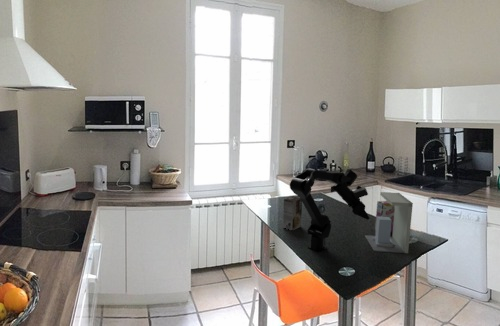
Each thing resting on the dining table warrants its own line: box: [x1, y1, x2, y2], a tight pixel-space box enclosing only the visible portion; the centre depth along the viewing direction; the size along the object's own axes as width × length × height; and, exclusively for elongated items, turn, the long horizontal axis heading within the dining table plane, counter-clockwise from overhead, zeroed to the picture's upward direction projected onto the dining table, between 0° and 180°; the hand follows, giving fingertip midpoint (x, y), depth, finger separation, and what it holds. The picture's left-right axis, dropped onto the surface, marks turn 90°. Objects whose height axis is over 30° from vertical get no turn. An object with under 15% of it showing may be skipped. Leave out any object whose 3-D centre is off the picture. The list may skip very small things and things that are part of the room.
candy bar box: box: [374, 200, 395, 233], centre depth 196 cm, size 11×5×16 cm, turn 108°
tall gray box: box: [374, 216, 392, 244], centre depth 177 cm, size 6×5×12 cm
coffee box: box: [282, 196, 303, 231], centre depth 199 cm, size 9×6×16 cm
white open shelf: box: [364, 191, 414, 254], centre depth 177 cm, size 15×20×24 cm
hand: (366, 216), depth 177 cm, fingers open, 9 cm apart
